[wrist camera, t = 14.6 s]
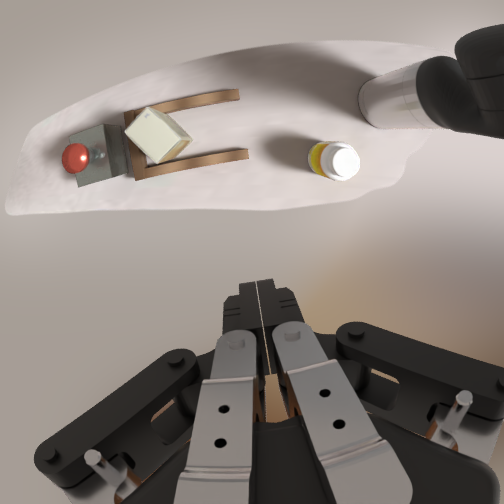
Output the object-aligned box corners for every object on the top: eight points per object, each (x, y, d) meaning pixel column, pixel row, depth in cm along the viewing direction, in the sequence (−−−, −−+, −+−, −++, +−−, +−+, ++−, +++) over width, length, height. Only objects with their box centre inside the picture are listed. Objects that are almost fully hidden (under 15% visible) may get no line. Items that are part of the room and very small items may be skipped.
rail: (237, 91, 40) (238, 87, 37) (248, 158, 44) (249, 159, 41) (130, 114, 40) (123, 112, 37) (141, 178, 44) (135, 181, 41)
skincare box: (148, 133, 42) (121, 130, 30) (167, 113, 41) (145, 103, 29) (175, 160, 43) (156, 165, 32) (195, 141, 43) (182, 139, 31)
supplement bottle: (312, 179, 46) (332, 188, 36) (302, 146, 44) (321, 147, 34) (343, 170, 46) (369, 177, 36) (334, 138, 44) (359, 137, 34)
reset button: (96, 139, 34) (83, 139, 30) (101, 166, 35) (88, 169, 32) (74, 147, 34) (59, 148, 30) (78, 173, 35) (65, 176, 32)
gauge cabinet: (120, 126, 41) (102, 124, 34) (128, 172, 43) (112, 177, 37) (87, 136, 41) (66, 137, 34) (95, 181, 43) (76, 188, 37)
